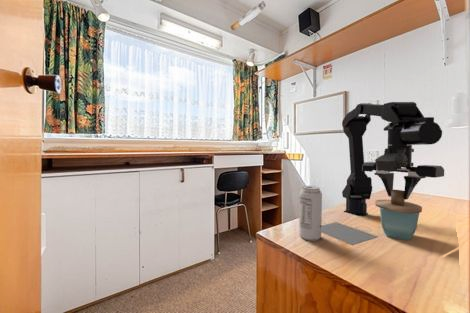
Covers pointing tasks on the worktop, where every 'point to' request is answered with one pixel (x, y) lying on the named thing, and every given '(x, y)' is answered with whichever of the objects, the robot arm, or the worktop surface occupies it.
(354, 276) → the worktop surface
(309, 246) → the worktop surface
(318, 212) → the energy drink can
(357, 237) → the mat
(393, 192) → the lid
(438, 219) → the worktop surface
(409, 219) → the flower pot
